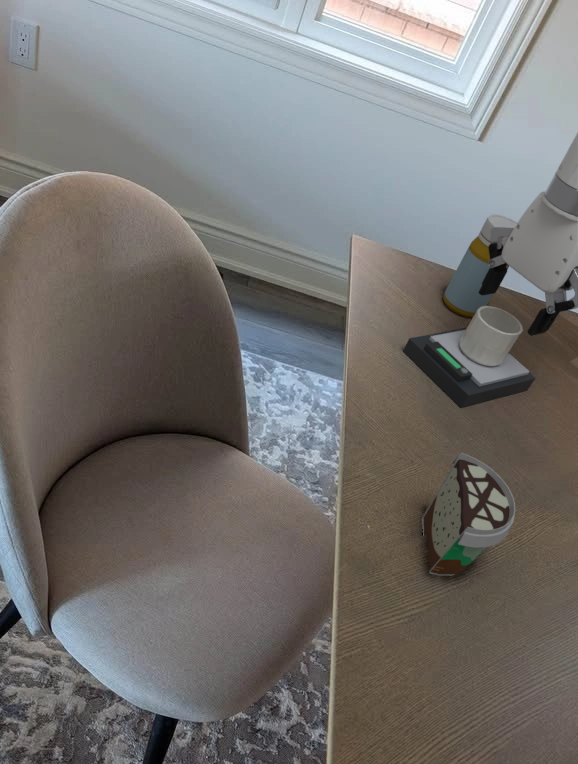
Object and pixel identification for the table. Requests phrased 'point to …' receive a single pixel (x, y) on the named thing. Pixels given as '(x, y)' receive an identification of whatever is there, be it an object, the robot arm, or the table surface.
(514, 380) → the scale
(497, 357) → the cup
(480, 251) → the bottle
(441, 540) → the food container
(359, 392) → the table surface
